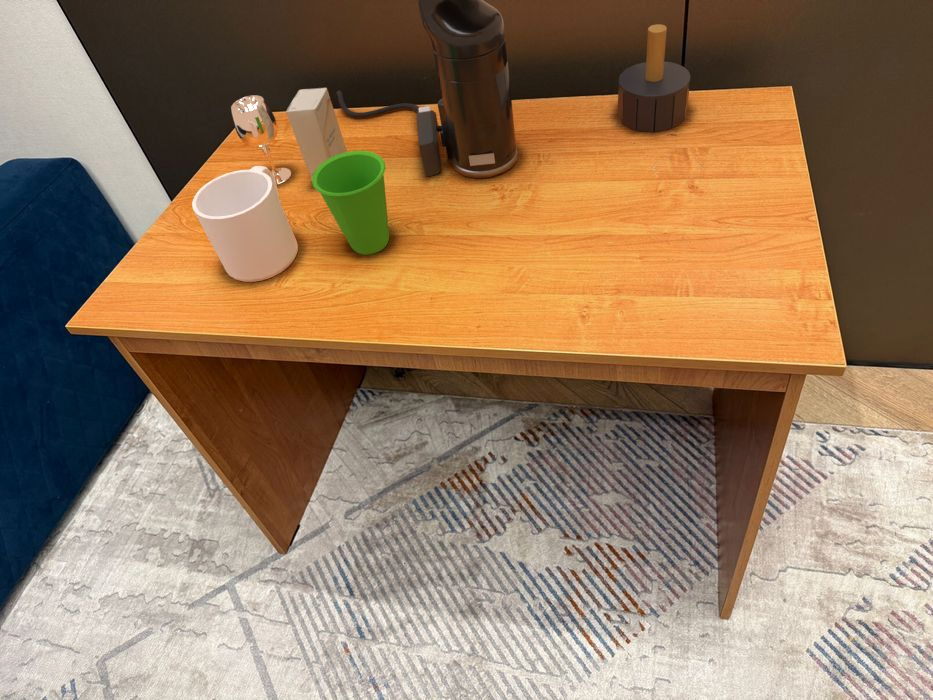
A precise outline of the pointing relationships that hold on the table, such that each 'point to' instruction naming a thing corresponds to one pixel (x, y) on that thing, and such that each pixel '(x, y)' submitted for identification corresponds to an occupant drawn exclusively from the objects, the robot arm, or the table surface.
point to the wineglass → (258, 129)
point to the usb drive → (429, 140)
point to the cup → (356, 198)
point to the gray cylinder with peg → (653, 89)
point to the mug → (246, 224)
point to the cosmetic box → (315, 127)
